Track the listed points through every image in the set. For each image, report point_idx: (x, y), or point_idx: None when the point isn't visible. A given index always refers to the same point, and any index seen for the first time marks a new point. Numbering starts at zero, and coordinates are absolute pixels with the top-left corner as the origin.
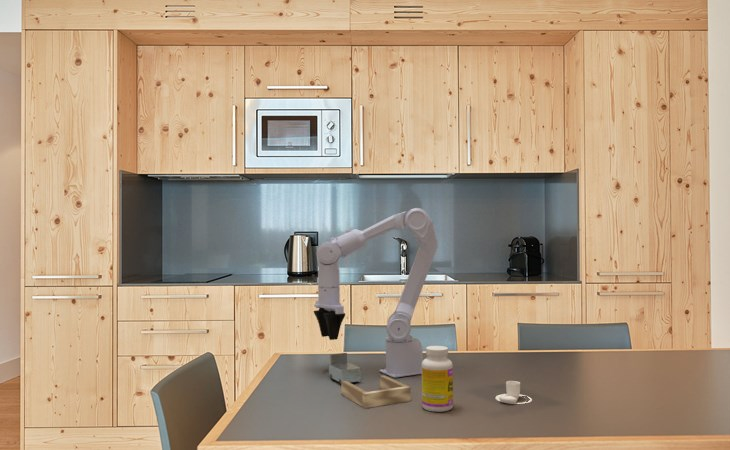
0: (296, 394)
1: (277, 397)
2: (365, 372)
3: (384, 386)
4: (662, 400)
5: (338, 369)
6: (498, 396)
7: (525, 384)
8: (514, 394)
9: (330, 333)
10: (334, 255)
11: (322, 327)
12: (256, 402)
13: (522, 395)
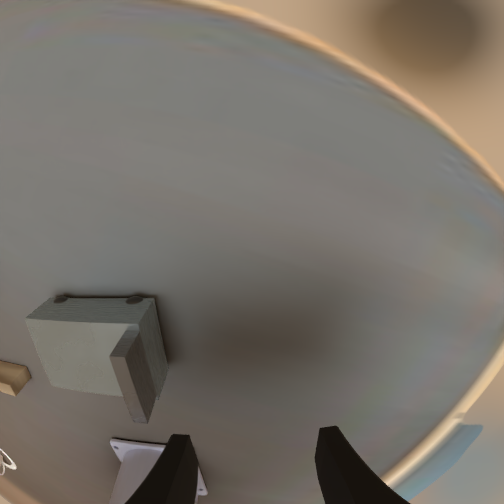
0: (20, 121)
1: (23, 63)
2: (203, 420)
3: (5, 368)
4: (16, 501)
5: (49, 319)
6: (2, 451)
7: (60, 501)
8: None
9: (154, 468)
10: None
11: (338, 481)
12: (21, 14)
13: (10, 467)
